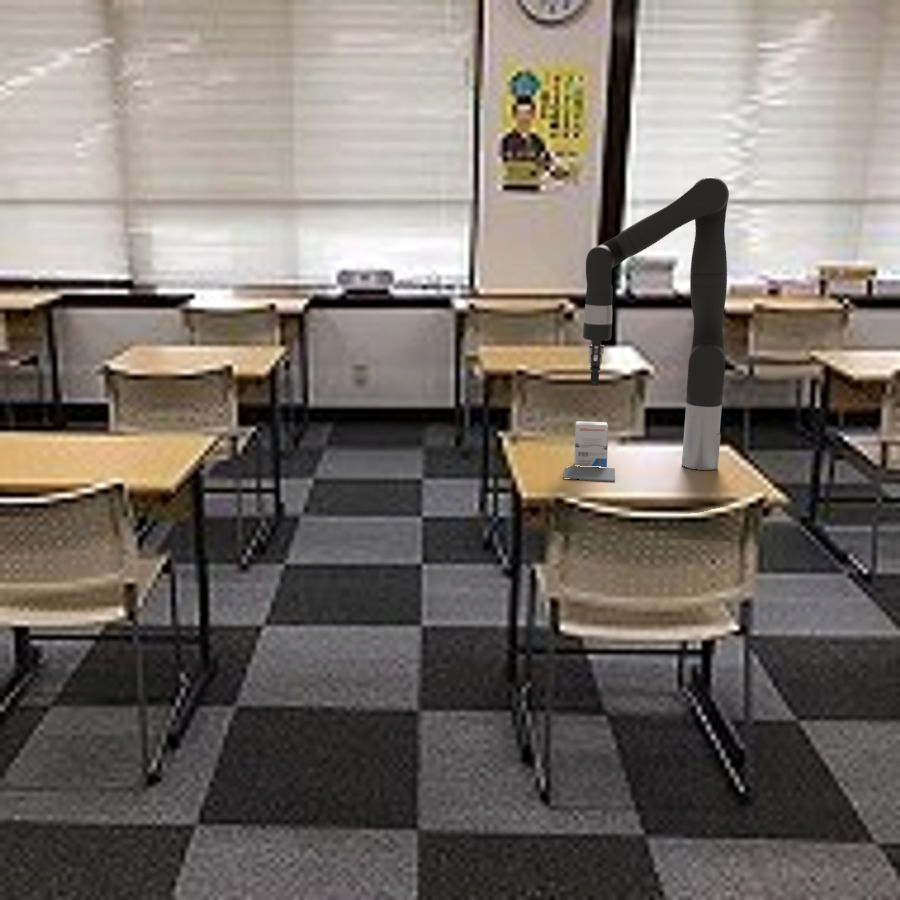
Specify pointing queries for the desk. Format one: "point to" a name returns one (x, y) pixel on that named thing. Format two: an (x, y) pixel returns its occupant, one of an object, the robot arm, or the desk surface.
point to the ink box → (591, 443)
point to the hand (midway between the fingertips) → (594, 385)
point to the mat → (590, 473)
